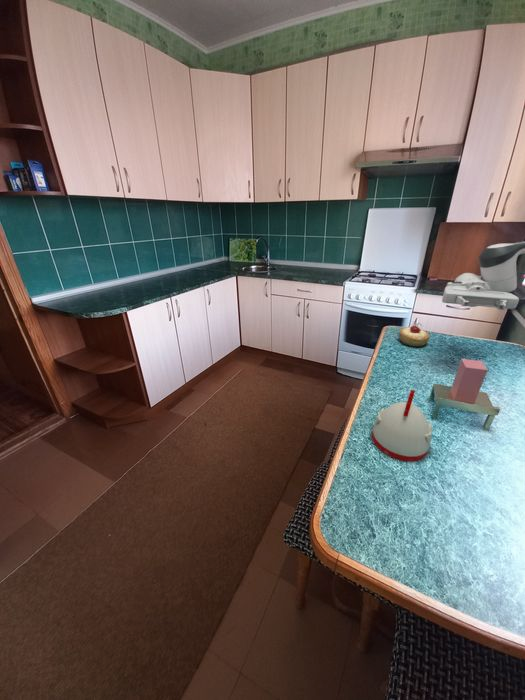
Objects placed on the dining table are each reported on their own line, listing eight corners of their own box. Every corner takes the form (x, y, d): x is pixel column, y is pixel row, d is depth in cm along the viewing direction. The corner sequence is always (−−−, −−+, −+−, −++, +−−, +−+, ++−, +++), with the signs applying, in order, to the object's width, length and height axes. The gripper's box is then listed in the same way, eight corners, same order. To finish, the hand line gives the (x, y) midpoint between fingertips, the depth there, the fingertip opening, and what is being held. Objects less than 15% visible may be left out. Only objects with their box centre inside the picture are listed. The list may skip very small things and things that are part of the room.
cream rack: (480, 408, 88) (489, 387, 85) (489, 432, 79) (500, 409, 76) (428, 398, 93) (435, 377, 89) (432, 420, 84) (439, 398, 80)
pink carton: (469, 393, 85) (481, 361, 80) (474, 403, 81) (487, 370, 76) (450, 390, 87) (461, 358, 82) (454, 400, 83) (465, 367, 78)
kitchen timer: (431, 434, 79) (446, 389, 72) (424, 470, 69) (441, 421, 62) (378, 416, 86) (387, 374, 79) (365, 446, 76) (374, 400, 69)
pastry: (392, 341, 131) (395, 322, 127) (407, 334, 137) (411, 317, 133) (417, 351, 122) (422, 331, 118) (432, 343, 128) (437, 325, 124)
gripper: (506, 305, 98) (521, 319, 86) (438, 299, 105) (443, 311, 93) (513, 286, 95) (529, 298, 83) (442, 281, 102) (448, 292, 90)
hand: (483, 305), depth 88 cm, fingers open, 8 cm apart
